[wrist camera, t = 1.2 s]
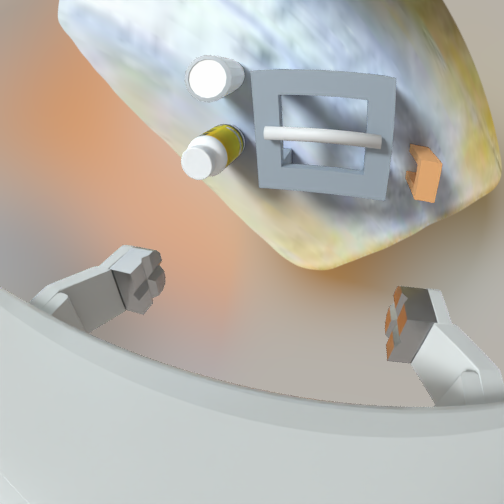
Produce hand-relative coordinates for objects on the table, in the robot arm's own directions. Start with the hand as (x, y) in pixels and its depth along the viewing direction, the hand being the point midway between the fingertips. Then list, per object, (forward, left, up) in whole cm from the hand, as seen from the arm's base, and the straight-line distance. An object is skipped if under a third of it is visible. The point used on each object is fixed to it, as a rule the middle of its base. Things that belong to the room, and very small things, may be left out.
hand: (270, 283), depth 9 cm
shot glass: (-6, -16, -36) cm, 39 cm away
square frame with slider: (+1, -1, -36) cm, 36 cm away
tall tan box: (+6, +13, -36) cm, 39 cm away
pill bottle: (+5, -17, -36) cm, 40 cm away
